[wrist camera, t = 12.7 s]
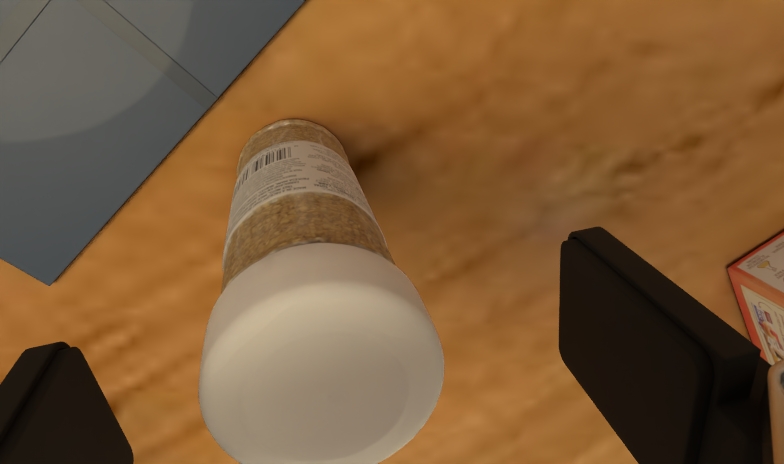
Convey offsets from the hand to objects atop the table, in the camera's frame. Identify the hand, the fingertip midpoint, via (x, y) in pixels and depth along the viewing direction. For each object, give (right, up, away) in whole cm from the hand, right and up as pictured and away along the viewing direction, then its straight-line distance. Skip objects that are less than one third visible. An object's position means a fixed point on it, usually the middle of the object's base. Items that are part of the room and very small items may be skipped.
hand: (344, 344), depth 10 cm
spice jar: (-3, +5, +11) cm, 13 cm away
